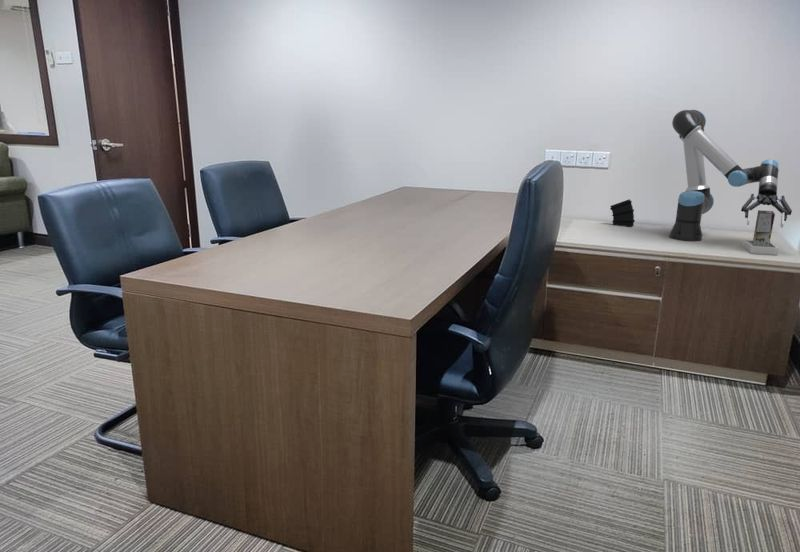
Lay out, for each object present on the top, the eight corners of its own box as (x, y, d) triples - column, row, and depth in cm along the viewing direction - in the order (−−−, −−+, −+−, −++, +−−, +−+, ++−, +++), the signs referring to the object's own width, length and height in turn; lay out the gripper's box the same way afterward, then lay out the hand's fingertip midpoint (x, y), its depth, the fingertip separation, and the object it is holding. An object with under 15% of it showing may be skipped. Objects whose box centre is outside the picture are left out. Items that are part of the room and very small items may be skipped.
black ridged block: (638, 224, 331) (629, 199, 331) (615, 232, 339) (606, 207, 339) (639, 223, 334) (630, 198, 334) (617, 231, 342) (608, 206, 342)
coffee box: (769, 248, 275) (775, 214, 270) (753, 246, 278) (759, 212, 273) (767, 244, 283) (773, 210, 278) (751, 242, 286) (757, 209, 281)
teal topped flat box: (750, 253, 276) (752, 246, 275) (743, 247, 288) (744, 240, 287) (776, 255, 273) (778, 248, 272) (768, 248, 286) (769, 241, 285)
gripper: (796, 194, 282) (794, 231, 273) (736, 191, 292) (733, 226, 283) (800, 184, 276) (798, 222, 267) (739, 181, 286) (735, 217, 277)
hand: (765, 224), depth 275 cm, fingers open, 13 cm apart
